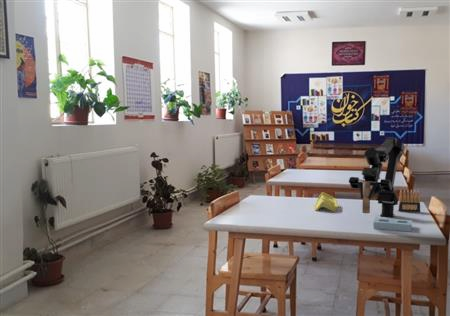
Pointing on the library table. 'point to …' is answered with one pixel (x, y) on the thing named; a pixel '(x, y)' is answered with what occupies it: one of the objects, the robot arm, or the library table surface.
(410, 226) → the peg board
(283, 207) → the library table surface
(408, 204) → the ammunition clip
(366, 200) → the walnut peg
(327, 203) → the plastic component
